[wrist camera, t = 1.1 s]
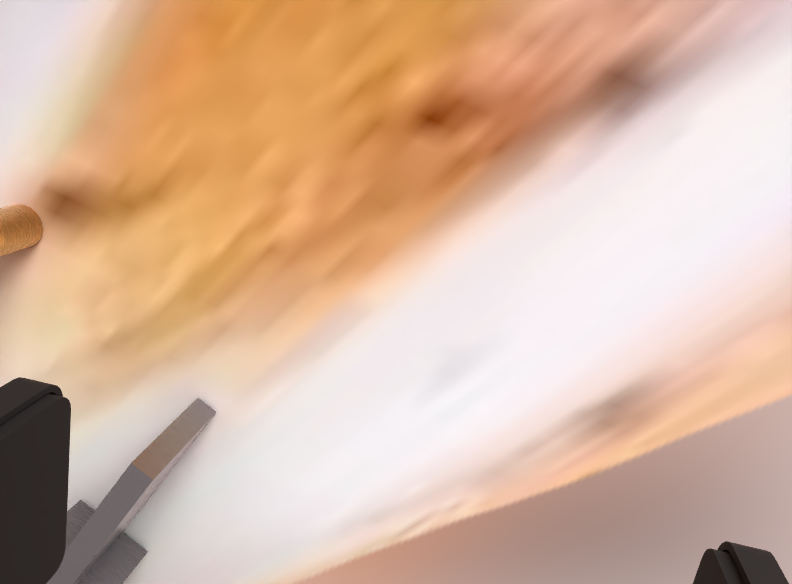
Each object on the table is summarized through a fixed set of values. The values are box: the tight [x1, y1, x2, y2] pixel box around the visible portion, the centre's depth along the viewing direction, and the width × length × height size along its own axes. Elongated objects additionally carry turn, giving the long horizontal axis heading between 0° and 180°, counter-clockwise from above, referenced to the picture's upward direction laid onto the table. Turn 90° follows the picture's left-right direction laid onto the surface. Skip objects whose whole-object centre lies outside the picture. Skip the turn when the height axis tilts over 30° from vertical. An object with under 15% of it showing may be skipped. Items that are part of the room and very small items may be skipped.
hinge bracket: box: [46, 398, 216, 584], centre depth 36 cm, size 15×15×8 cm
